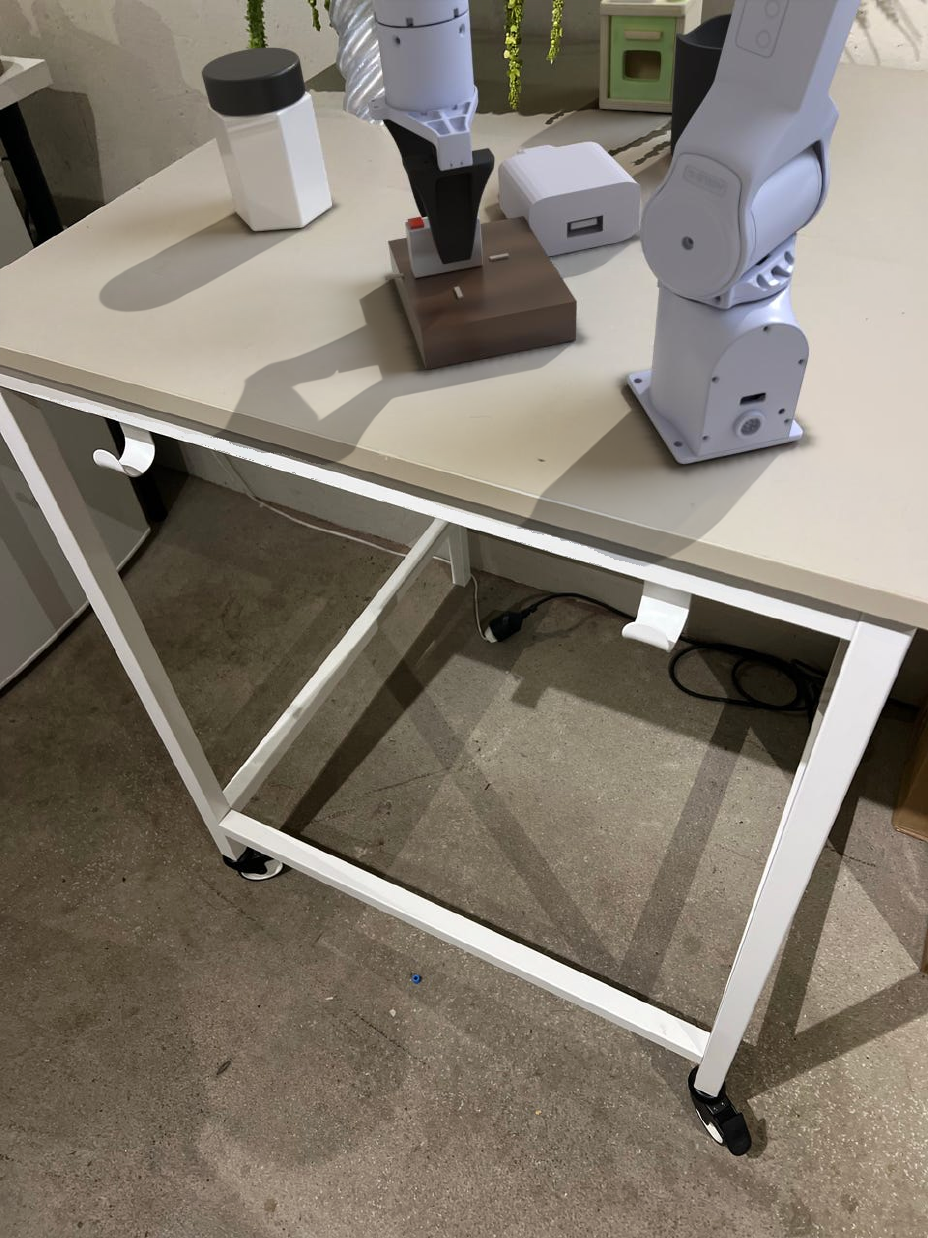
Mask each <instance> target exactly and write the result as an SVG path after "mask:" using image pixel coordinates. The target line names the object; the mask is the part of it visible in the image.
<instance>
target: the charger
mask: <svg viewBox="0 0 928 1238" xmlns="http://www.w3.org/2000/svg"><path fill="white" fill-rule="evenodd" d="M497 177H498V178H497V179H498V181H497V182H498V200H499V201H498V202H499V208H500V210H501V211H502V213H503V214H504V216H505V217H506V219H510V218H515V217H521V216H523V217H524V218H525V220H526V221H527V223H528V225H529V226H530V228H531V229H532V231H533V233H534V234H535V236H536V237H537V239H538V240H539V242H540V244H541V245H542V247H543V248H544V250H545V252H546V253H547V255H548V256H549V257H554V256H558V255H563V254H567V253H572V252H578V251H582V250H587V249H591V248H597V247H601V246H606V245H611V244H616V243H620V242H623V241H626V240H628V239H631V237H633V236H635V234H636V233H637V232H638V230H639V227H640V210H641V199H642V198H641V197H642V195H641V194H642V188H641V185H640V184H639V183H638V182H637V181H636V180H635V179H634V178H633V177H632V176H631V175H630V174H629V173H628V172H627V171H626V170H625V169H624V168H623V167H622V166H621V165H620V164H619V163H618V162H617V161H616V160H615V159H614V158H613V157H612V156H611V155H610V154H609V153H608V151H606V150H605V149H604V148H603V147H602V146H601V144H599V143H598V142H596V141H595V142H594V141H583V142H577V143H571V144H567V145H562V146H553V145H551V144H544V145H539V146H534V147H529V148H524V149H519V150H517V152H516V154H515V155H511V156H509V157H508V158H506V159H504V160H503V161H502V162H500V164H499V165H498V167H497Z"/></svg>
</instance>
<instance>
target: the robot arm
mask: <svg viewBox="0 0 928 1238" xmlns="http://www.w3.org/2000/svg"><path fill="white" fill-rule="evenodd" d="M371 3H372V10H373V11H372V12H373V17H374V23H375V32H376V39H377V44H378V53H379V59H380V67H381V74H382V82H383V88H384V89H383V90H384V95H383V96H378V97H375V98H371V99H369V100H368V101H367V108H368V113H369V115H370V118H371V119H372V120H373V121H382V122H383V125H384V126H385V127H386V129H387V130H388V132H389V134H390V135H391V138H392V139H393V141H394V142H395V144H396V147H397V149H398V151H399V154H400V157H401V162H402V166H403V168H404V170H405V174H406V176H407V179H408V183H409V186H410V189H411V193H412V196H413V200H414V203H415V205H416V208H417V211H418V212H419V215H420V217H421V218H422V219H425V218H428V221H429V224H430V228H431V232H432V236H433V240H434V244H435V247H436V250H437V252H438V255H439V257H440V260H441V262H442V264H449V263H455V262H460V261H465V260H470V259H471V256H472V251H473V246H474V239H475V231H476V223H477V217H478V216H479V210H480V205H481V201H482V198H483V195H484V192H485V189H486V186H487V184H488V181H489V179H490V177H491V175H492V173H493V171H494V169H495V160H496V159H495V155H494V153H493V152H492V150H491V148H489V147H486V148H479V149H475V150H473V149H472V138H471V130H470V129H471V127H472V124H473V121H474V118H475V115H476V111H477V108H478V105H479V91H478V87H477V86H476V85H475V81H474V80H475V79H474V68H473V53H472V52H473V51H472V39H471V36H472V35H471V22H470V21H471V20H470V7H469V0H371ZM861 3H862V0H734V5H733V8H732V11H731V13H732V15H731V19H730V23H729V27H728V31H727V35H726V38H725V42H724V46H723V50H722V54H721V58H720V61H719V65H718V69H717V73H716V77H715V80H714V83H713V85H712V87H711V88H710V90H709V92H708V93H707V95H706V97H705V98H704V100H703V101H702V103H701V104H700V106H699V108H698V109H697V111H696V112H695V114H694V115H693V117H692V118H691V120H690V122H689V123H688V125H687V126H686V128H685V130H684V131H683V133H682V135H681V136H680V138H679V139H678V141H677V143H676V146H675V150H674V154H673V158H672V157H671V162H670V165H669V168H668V171H667V173H666V175H665V177H664V179H663V180H662V182H661V183H660V184H659V185H658V186H657V187H656V189H654V191H653V192H652V193H651V194H650V196H649V197H648V199H647V201H646V202H645V205H644V207H643V209H642V213H641V217H640V220H639V239H640V241H639V242H640V245H641V249H642V250H641V251H642V254H643V257H644V259H645V261H646V263H647V265H648V268H649V269H650V271H651V272H652V274H653V276H655V278H656V280H657V283H656V287H657V288H658V295H657V296H658V297H657V307H656V320H655V329H654V338H653V349H652V350H653V351H652V360H651V369H647V370H641V371H637V372H633V373H630V374H628V375H627V380H626V382H627V384H628V386H629V387H630V389H631V391H632V393H633V394H634V395H635V397H636V399H637V400H638V402H639V404H640V405H641V406H642V408H643V409H644V411H645V413H646V414H647V417H649V420H650V421H651V422H652V424H653V426H654V427H655V429H656V431H657V432H658V434H659V435H660V437H661V438H662V440H663V441H664V443H665V445H666V446H667V448H668V450H669V451H670V453H671V454H672V456H673V458H674V459H675V461H676V462H677V463H679V464H681V465H682V464H683V465H688V464H692V463H697V462H701V461H706V460H711V459H715V458H720V457H724V456H725V457H726V456H729V455H734V454H739V453H743V452H748V451H749V452H750V451H752V450H758V449H762V448H767V447H771V446H776V445H780V444H785V443H791V442H795V441H799V440H801V439H802V437H803V434H804V431H803V428H802V427H801V426H800V425H799V424H798V423H797V421H796V420H795V419H794V418H795V414H796V410H797V406H798V402H799V399H800V394H801V390H802V387H803V382H804V379H805V374H806V371H807V366H808V362H809V357H810V346H809V340H808V337H807V336H806V334H805V332H804V330H803V328H802V327H801V325H800V323H799V322H798V320H797V318H796V314H795V313H794V310H793V304H792V297H791V289H792V288H791V287H792V279H793V275H794V271H795V270H794V269H795V261H796V257H795V256H796V255H795V247H796V241H797V237H798V232H799V231H800V230H802V229H804V228H805V227H806V226H808V225H809V224H810V223H811V222H813V220H814V219H815V218H817V216H818V214H819V213H820V211H821V210H822V208H823V206H824V204H825V202H826V199H827V197H828V193H829V189H830V181H831V170H830V169H831V168H830V157H829V156H830V146H831V140H832V136H833V133H834V131H835V127H836V125H837V123H838V121H839V116H840V111H839V108H838V107H837V105H836V103H835V101H834V100H833V98H832V96H831V94H830V88H831V86H832V82H833V79H834V77H835V74H836V71H837V69H838V66H839V63H840V60H841V58H842V56H843V55H842V54H843V52H844V50H845V47H846V45H847V41H848V38H849V36H850V33H851V30H852V28H853V24H854V22H855V19H856V16H857V13H858V11H859V8H860V5H861Z"/></svg>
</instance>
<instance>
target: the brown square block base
mask: <svg viewBox="0 0 928 1238" xmlns="http://www.w3.org/2000/svg"><path fill="white" fill-rule="evenodd" d="M480 225H481V240H482V255H483V265H482V266H476V267H471V268H466V269H460V270H455V271H450V272H445V273H439V274H434V275H429V276H424V277H418V278H415V277H414V275H413V272H412V270H411V265H410V258H409V250H408V243H407V237H402V238H397V239H396V238H395V239H392V240H388V241H387V246H388V251H389V258H390V265H391V271H392V274H389V275H385V276H384V280H385V281H391V280H394V283H395V286H396V289H397V291H398V294H399V297H400V300H401V303H402V306H403V308H404V311H405V314H406V317H407V320H408V322H409V325H410V328H411V331H412V333H413V336H414V340H415V342H416V345H417V349H418V351H419V354H420V356H421V359H422V362H423V364H424V367H425V370H433V369H438V368H443V367H448V366H451V365H458V364H463V363H467V362H472V361H477V360H482V359H487V358H492V357H498V356H502V355H508V354H513V353H517V352H523V351H527V350H533V349H538V348H543V347H548V346H553V345H558V344H562V343H567V342H573V341H577V313H578V312H577V310H578V307H577V306H578V301H577V300H576V298H575V297H574V294H573V293H572V291H571V289H570V288H569V287H568V285H567V283H566V282H565V280H564V279H563V277H562V276H561V274H560V272H559V271H558V269H557V268H556V266H555V264H554V263H553V261H552V260H551V258H550V256H548V255H547V253H546V252H545V250H544V248H543V247H542V245H541V244H540V242H539V240H538V239H537V237H536V236H535V234H534V233H533V231H532V229H531V228H530V226H529V225H528V223H527V221H526V220H525V218H524V217H523V216H521V217H515V218H510V219H507V218H505V219H500V220H494V221H489V222H483V223H480Z"/></svg>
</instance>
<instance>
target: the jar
mask: <svg viewBox="0 0 928 1238" xmlns="http://www.w3.org/2000/svg"><path fill="white" fill-rule="evenodd" d="M201 79H202V81H203V85H204V88H205V91H206V96H207V99H208V103H206V108H207V111H208V115H209V118H210V121H211V126H212V129H213V132H214V136H215V140H216V143H217V147H218V151H219V155H220V158H221V161H222V165H223V169H224V172H225V176H226V180H227V184H228V186H229V187H228V188H229V190H230V194H231V199H232V201H233V204H234V209H235V212H236V214H237V215H238V216H239V217H240V218H241V219H242V220H243V221H244V223H246V225H247V226H249V227H250V229H251V230H252V231H254V232H263V231H264V232H265V231H277V230H288V229H301V228H304V227H305V226H307V225H308V224H310V223H311V222H313V221H314V220H315V219H316V218H318V217H319V216H321V215H322V214H324V213H325V212H326V211H328V210H329V209H331V208H332V206H333V202H332V196H331V190H330V186H329V180H328V176H327V169H326V166H325V160H324V155H323V150H322V144H321V139H320V135H319V134H320V133H319V129H318V123H317V118H316V113H315V108H314V104H313V98H312V95H311V94H310V93H309V92H308V91H306V90H307V89H306V85H305V80H304V74H303V69H302V64H301V59H300V56H299V55H298V54H297V53H296V52H295V51H293V50H290V49H287V48H281V47H257V48H255V47H254V48H248V49H242V50H238V51H234V52H230V53H227V54H224V55H222V56H219V57H216V58H215V59H212V60H211V61H209V62H208V63H206V64H205V65H204V67H202V70H201Z"/></svg>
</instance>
